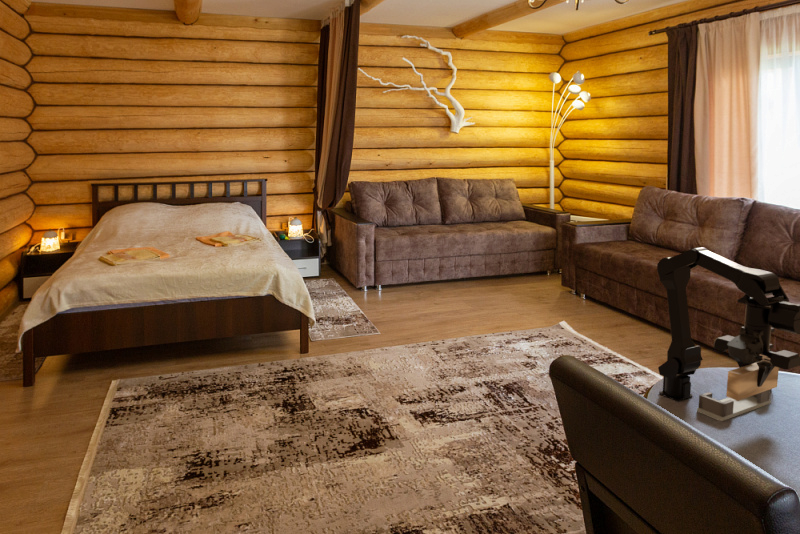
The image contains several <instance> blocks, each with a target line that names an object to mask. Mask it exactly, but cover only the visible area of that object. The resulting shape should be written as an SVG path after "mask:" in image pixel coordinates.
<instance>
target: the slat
mask: <svg viewBox="0 0 800 534" xmlns="http://www.w3.org/2000/svg"><path fill="white" fill-rule="evenodd" d="M779 369H780V368H779V367H774V368H773V370H772V371H771V372H770V374H769V375H768V377H767V378H766V380H765V381H764V383H763V384H762V386H761V387H758V386H757V379H758V371H759V367H758V365H757V362H756V363H753V364H750V365H747V366H743V367H740V368H739V367H738V368H734V369H731V370H728V371H727V382H726V383H727V384H726V397H725V398H728V397H729V398H732V399H735V400H741V399H744V398H747V397H750V396H753V395H756V394H758V393H761V392H764V391H767V390H770V389H771V390H773V389H776V388H777V387H778V383H779V381H778V379H779Z"/></svg>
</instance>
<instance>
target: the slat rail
mask: <svg viewBox="0 0 800 534" xmlns="http://www.w3.org/2000/svg"><path fill="white" fill-rule="evenodd" d="M770 390H771V391H772V389H770ZM770 390H767V391H764V392H761V393H758V394H756V395H753V396H750V397H747V398H744V399H741V400H735V399H732V398H729V397H725V398H723V399H721V400H720V399H719V400H718V399H715V398H713V392H710V391H708V392H705V393H702V394H699V396H698V406H697V409H696V412H697V413H699V412H700V414H702V415H705V416H707V417H709V418H712V419H715V420H718V421H720V422H723V421H727V420H729V419H732V418H734V417H737V416H740V415H742V414H746V413H749V412H750V411H754V410H756V409H759V408H761V407H764V406H767V405H770V404H771V391H770Z"/></svg>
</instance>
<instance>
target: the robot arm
mask: <svg viewBox="0 0 800 534" xmlns="http://www.w3.org/2000/svg"><path fill="white" fill-rule="evenodd" d="M698 266H699V267H701V268H703V269H705V270H707V271H710V272H712V273H713V274H716V275H717V276H720V277H722V278H724V279H726V280H727V281H730V282H732V283H733V284H734V285H735V286H736V288H737V289H738V290H739V291H741V292H742V293H743V296H742V297H740V298H739V299H737V303H739V304H743V305H745V310H744V312H745V313H744V324H743V325H744V326H741V327H740V329H739V334H738V335H737V336H732V335H729V334H727V335H723V336H719V337H717V338H716V339H715V340H714V341H713V349H714V350H717V351H720V352H726V351H727V350H728V351H727V352H728V355H729V357H731V358H733V359H734V360H735V361H736V362H737V365H738V368H740V367H743V366H747V365H750V364H752V360H753V356H755V357H757V356H760V357H762V361H760V362H757V365H758V367H759V371H758V379H757V386H758V387H761V386H762V384H763V383H764V381H765V380H766V378H767V377H768V375H769V374H770V372H771V371H772V370H773V368H774V367H779V369H782V370H791V369H793V368H796V367H799V366H800V354H799V353H797V352H793V351H789V350H787V349H783V350H779V351H776V352H775V351H772V349H773V348H774V344H773V343H771V337H772V336H771V335H772V333H774V332H775V330H778V331H779V330H780V331H783V332H788V333H791V334H796V335H800V303H793V302H790V299H789V297H788V295H787V294H786V292H785V291H784V289H783V287H782V285H781V282H780V280H779V276H778V275H777V274H776V273H774V272H771V271H767V270H765V269H759V268H752V267H747V266H744V265H742V264H739V263H737V262H735V261H733V260H731V259H728V258H727V257H724V256H722V255H720V254H717V253H715V252H712V251H710V250H709V249H708V248H706V247H704V246H703V247H702V246H701V247H694V248H693V247H692V248H690V249H688V250H686V251H684V252H682V253H679V254H677V255H674V256H668V257H662V258H661V259H660V260H659V261H658V262H657V264H656V271H657V274H658V279H659V281H660V283H661V285H662V286H663V287H664V289H665V290H666V297H667V306H668V307H667V308H668V316H669V317H668V318H669V325H670V336H671V342H670V344H669V347H668V349H667V353H666V354H667V355H666V356H667V357H666V361H665V362H664V363H662V364H661V365H660V366H658V373H659V375H660V376H662V377H663V378H662V379H663V380H662V390H661V391H658V394H659V395H662V396H664V397H666V398H669V399H672V400H674V401H675V402H676V401H678V402H680V401H683V400H686V399H688V398H693V394H692V393H691V392H692V391H691V390H692V383H691V376H693V375H695V374H696V372H697V370H698V369H699V368H700V367H701V364H702V361H703V360H704V359H703V357H702V347H701V346H700V345H696V344H695V343H694V342H693V339H692V334H691V332H692V331H691V323H690V316H689V306H688V297H687V294H688V293H687V286H688V283H690V282H689V281H690V279H691V273H692V272H691V271H692V269H695V268H696V267H698ZM768 296H769V297H768ZM769 349H771V351H769Z"/></svg>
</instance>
